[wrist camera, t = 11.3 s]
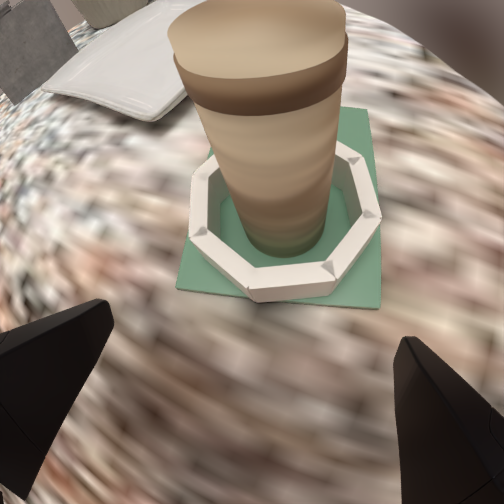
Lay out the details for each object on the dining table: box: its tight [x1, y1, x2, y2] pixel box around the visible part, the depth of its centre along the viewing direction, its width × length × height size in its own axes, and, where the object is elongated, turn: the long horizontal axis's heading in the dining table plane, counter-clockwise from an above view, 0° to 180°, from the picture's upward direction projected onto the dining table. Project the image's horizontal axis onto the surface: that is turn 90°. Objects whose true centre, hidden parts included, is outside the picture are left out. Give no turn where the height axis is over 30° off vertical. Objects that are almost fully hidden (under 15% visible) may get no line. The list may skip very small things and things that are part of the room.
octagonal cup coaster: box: [175, 106, 382, 310], centre depth 18 cm, size 18×15×4 cm
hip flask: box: [0, 0, 79, 105], centre depth 26 cm, size 16×4×20 cm, turn 110°
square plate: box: [41, 0, 207, 122], centre depth 29 cm, size 27×27×4 cm
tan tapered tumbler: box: [167, 0, 348, 258], centre depth 12 cm, size 5×5×13 cm
